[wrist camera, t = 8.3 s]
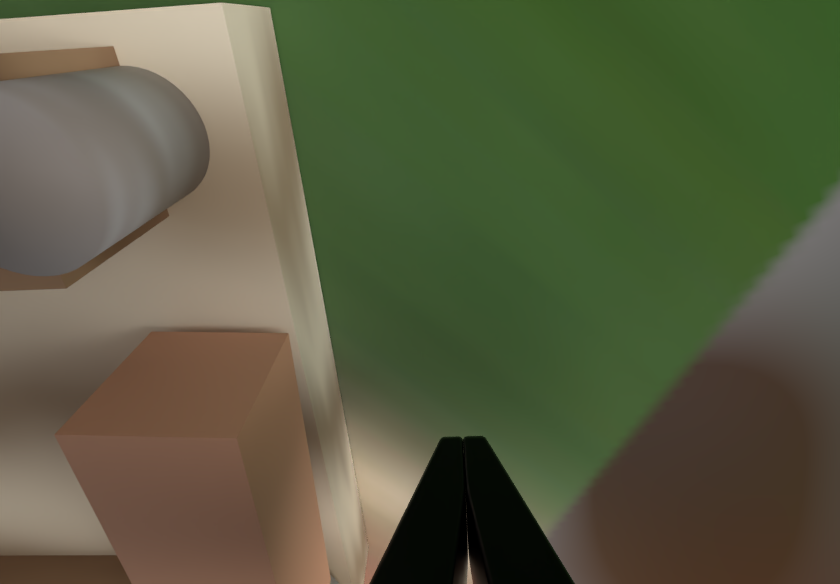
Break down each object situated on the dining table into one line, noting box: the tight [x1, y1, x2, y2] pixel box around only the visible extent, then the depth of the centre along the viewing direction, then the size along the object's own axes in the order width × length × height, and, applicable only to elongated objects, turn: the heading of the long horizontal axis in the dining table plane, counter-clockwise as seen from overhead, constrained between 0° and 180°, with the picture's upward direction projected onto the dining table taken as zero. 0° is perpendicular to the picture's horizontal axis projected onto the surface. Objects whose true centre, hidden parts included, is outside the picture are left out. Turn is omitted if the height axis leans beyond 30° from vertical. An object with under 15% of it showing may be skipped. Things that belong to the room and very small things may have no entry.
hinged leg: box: [54, 332, 339, 584], centre depth 12 cm, size 12×4×3 cm, turn 1°
